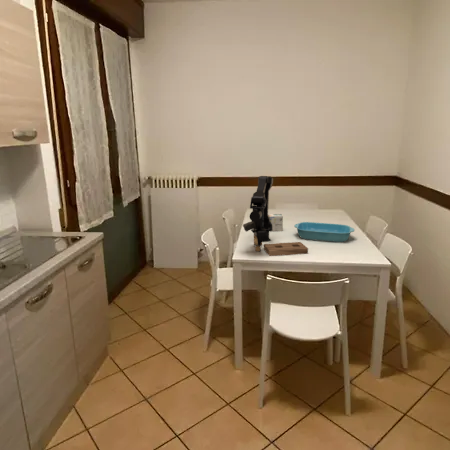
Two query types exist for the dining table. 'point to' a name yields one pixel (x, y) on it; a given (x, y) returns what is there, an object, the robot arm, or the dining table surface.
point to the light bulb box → (276, 222)
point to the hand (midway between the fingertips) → (258, 243)
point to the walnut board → (285, 249)
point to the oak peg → (256, 243)
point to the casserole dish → (324, 231)
